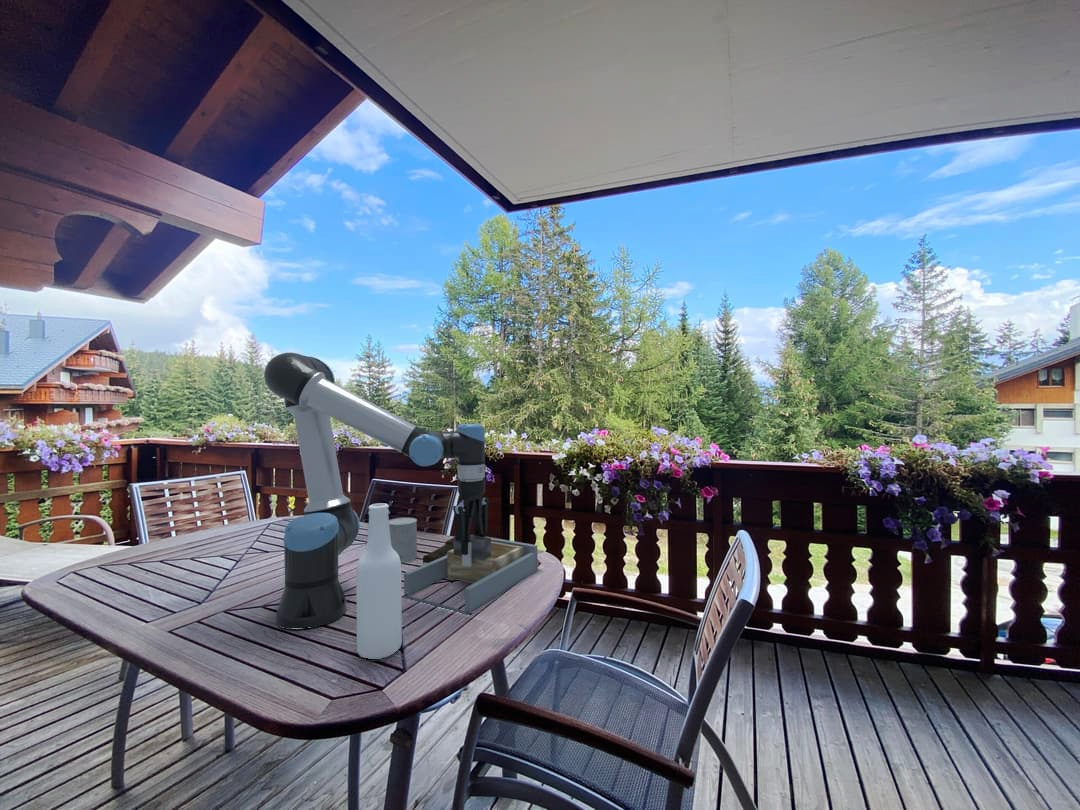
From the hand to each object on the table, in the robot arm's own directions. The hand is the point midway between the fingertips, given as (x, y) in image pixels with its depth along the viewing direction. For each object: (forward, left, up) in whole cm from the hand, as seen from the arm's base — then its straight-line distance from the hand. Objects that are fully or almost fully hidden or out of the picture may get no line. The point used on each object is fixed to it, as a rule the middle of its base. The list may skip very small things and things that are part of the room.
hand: (472, 562), depth 128 cm
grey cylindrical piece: (+8, +36, -7) cm, 38 cm away
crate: (+6, 0, -5) cm, 8 cm away
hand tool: (+15, +25, -7) cm, 30 cm away
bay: (+1, 0, -7) cm, 7 cm away
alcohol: (-36, -4, -7) cm, 37 cm away
